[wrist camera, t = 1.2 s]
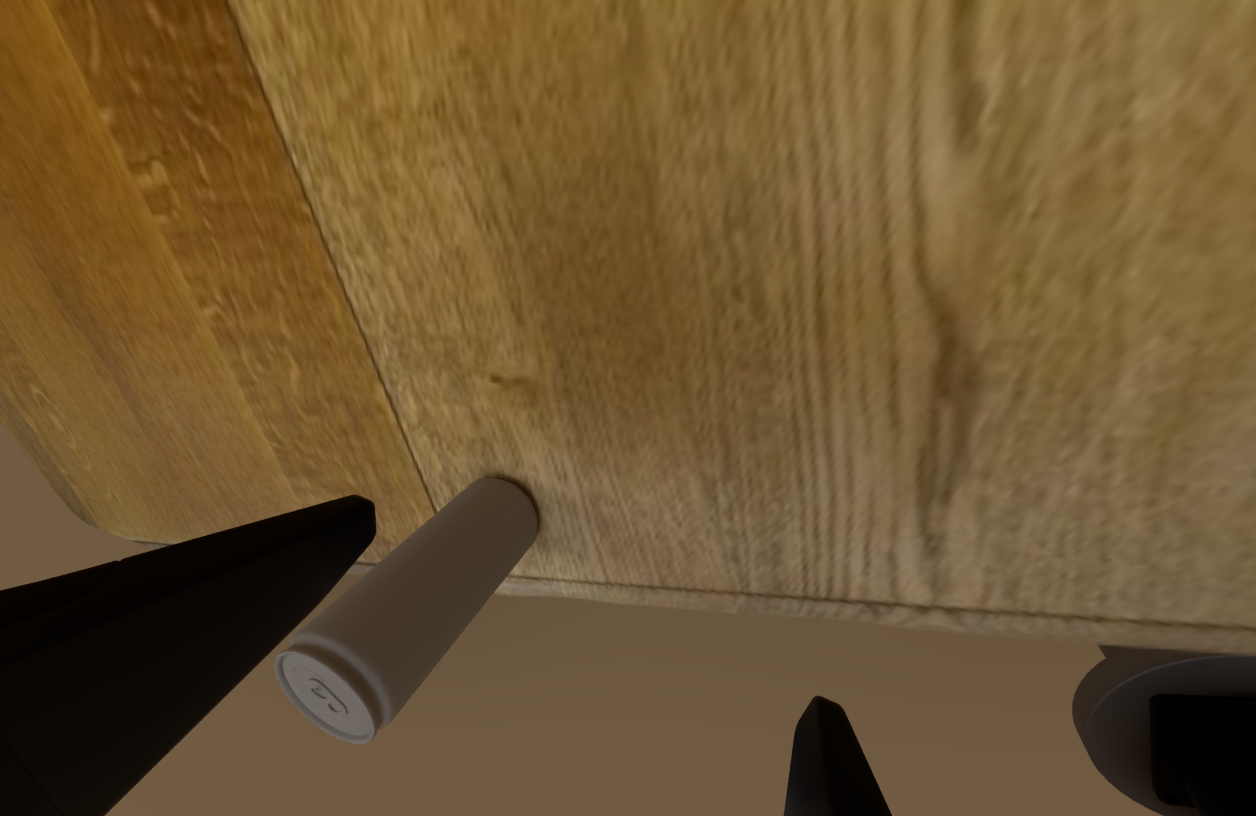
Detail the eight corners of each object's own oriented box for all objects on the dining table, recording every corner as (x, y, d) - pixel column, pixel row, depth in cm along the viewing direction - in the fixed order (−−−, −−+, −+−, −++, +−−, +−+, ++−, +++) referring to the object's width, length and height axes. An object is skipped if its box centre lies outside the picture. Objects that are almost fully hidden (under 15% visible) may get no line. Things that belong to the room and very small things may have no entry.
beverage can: (501, 458, 26) (298, 632, 16) (560, 523, 27) (399, 733, 16) (456, 496, 29) (254, 669, 18) (510, 555, 29) (343, 756, 19)
